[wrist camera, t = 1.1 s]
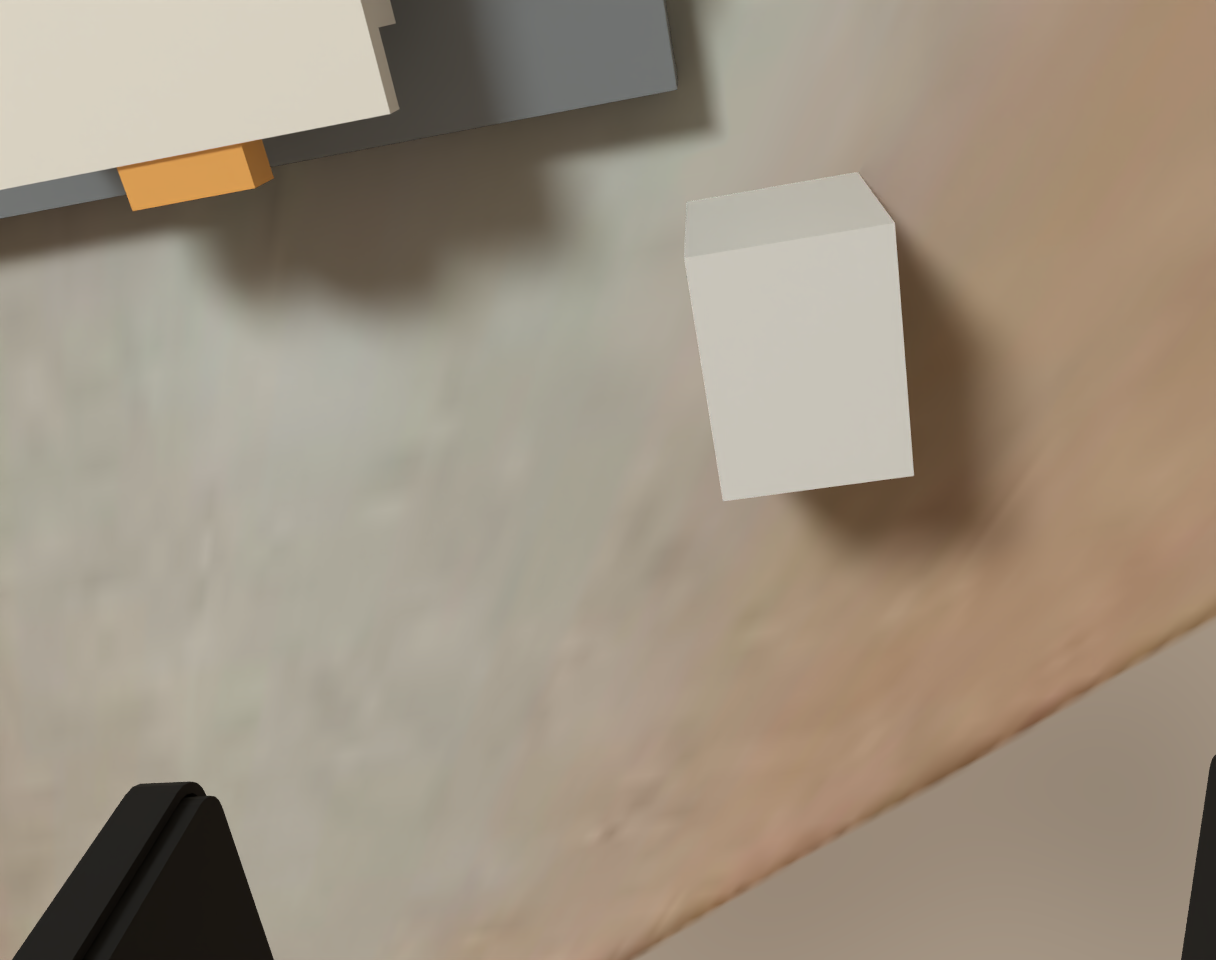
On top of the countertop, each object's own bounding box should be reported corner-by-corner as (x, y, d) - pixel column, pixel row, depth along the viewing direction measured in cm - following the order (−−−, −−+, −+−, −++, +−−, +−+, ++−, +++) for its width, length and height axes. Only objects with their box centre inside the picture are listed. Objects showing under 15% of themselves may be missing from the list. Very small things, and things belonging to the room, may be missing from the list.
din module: (857, 171, 28) (895, 223, 23) (876, 389, 31) (914, 481, 25) (686, 201, 29) (683, 257, 24) (719, 412, 32) (723, 506, 26)
